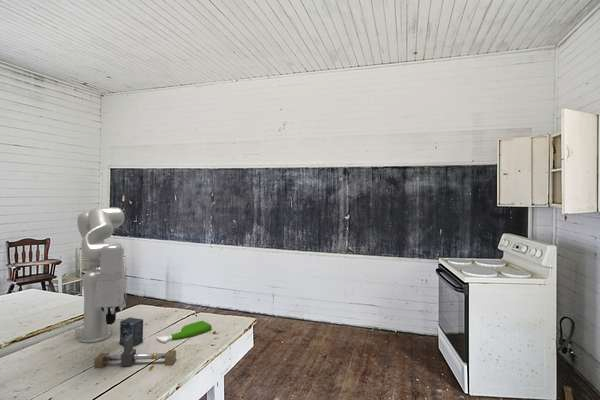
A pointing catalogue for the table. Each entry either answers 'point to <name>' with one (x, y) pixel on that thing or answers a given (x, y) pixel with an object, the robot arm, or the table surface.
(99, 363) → the rod with tan block
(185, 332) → the spray bottle
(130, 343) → the collar
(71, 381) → the table surface
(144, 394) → the table surface
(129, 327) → the box
